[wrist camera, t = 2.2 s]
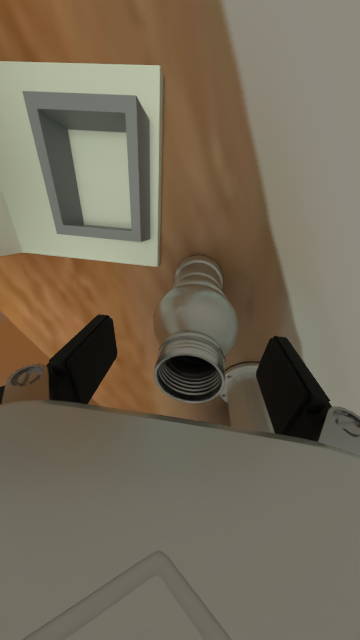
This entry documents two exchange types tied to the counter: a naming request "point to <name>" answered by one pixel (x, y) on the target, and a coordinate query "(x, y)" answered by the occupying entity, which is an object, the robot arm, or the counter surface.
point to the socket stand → (81, 160)
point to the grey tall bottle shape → (194, 333)
